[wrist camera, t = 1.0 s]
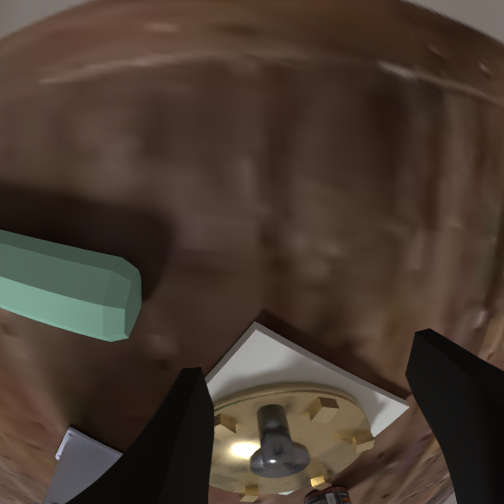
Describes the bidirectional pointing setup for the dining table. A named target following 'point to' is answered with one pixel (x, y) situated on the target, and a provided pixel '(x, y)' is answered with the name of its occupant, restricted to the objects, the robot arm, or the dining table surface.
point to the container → (69, 287)
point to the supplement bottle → (329, 496)
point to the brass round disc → (285, 438)
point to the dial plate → (295, 374)
